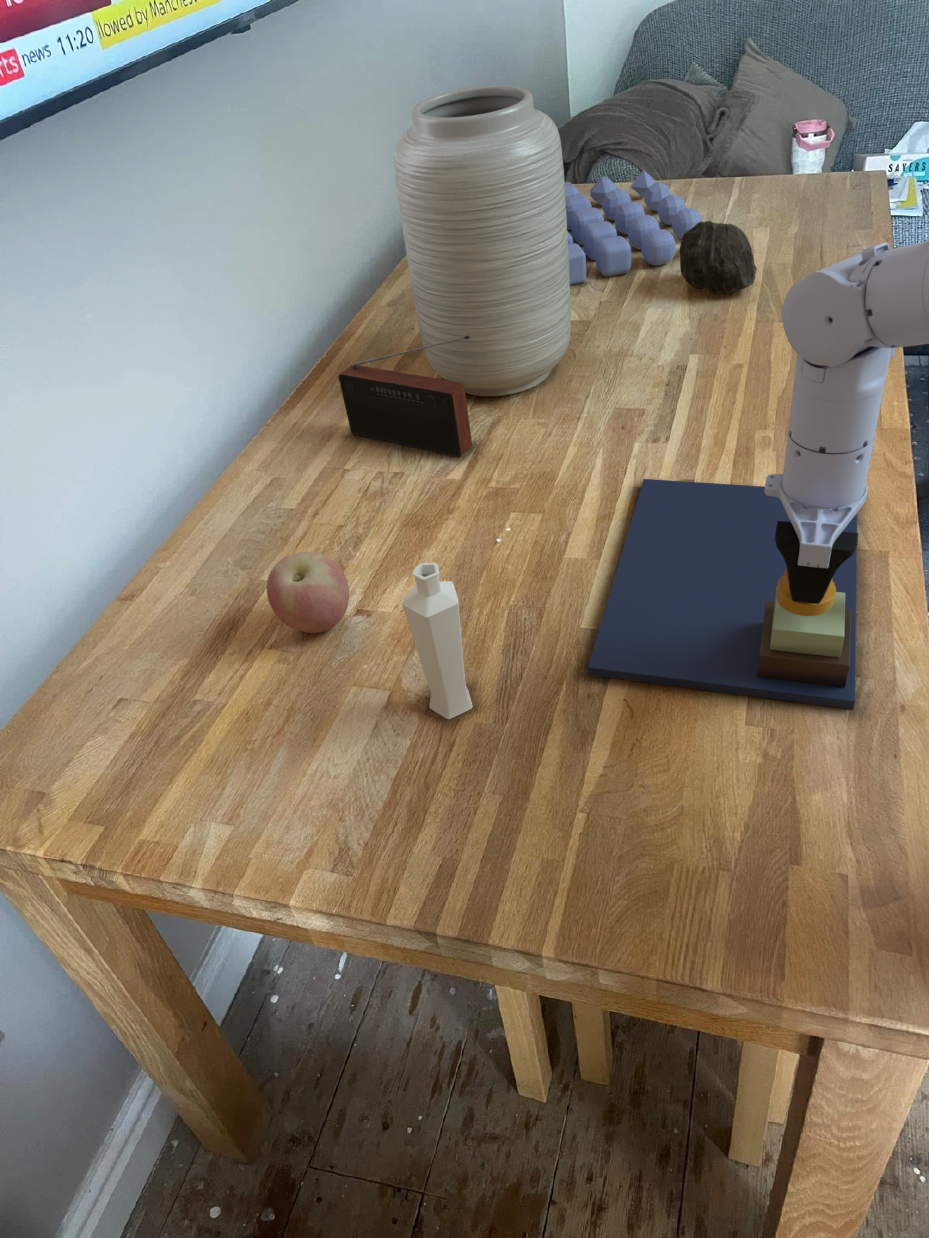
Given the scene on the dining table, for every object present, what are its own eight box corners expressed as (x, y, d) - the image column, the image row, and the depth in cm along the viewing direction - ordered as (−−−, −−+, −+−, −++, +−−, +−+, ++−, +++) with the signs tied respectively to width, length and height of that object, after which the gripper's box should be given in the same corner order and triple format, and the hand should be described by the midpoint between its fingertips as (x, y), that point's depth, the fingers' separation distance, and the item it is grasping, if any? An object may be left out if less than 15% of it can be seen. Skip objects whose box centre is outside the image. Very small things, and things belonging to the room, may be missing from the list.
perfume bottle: (464, 727, 81) (440, 594, 71) (420, 715, 82) (390, 583, 73) (486, 690, 84) (466, 558, 74) (442, 679, 85) (417, 548, 76)
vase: (568, 406, 119) (552, 118, 97) (414, 411, 123) (365, 135, 101) (578, 335, 134) (567, 70, 112) (440, 341, 138) (403, 87, 116)
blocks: (471, 226, 173) (467, 198, 170) (652, 192, 175) (652, 163, 172) (511, 298, 147) (508, 267, 143) (723, 257, 148) (725, 225, 145)
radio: (349, 436, 121) (324, 325, 111) (363, 424, 122) (339, 314, 113) (474, 462, 112) (458, 345, 102) (486, 449, 114) (472, 333, 104)
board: (853, 709, 77) (855, 701, 76) (588, 675, 84) (587, 667, 83) (856, 500, 98) (857, 492, 97) (643, 486, 104) (643, 478, 104)
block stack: (845, 688, 77) (854, 643, 74) (757, 677, 80) (761, 633, 76) (846, 631, 82) (855, 587, 79) (763, 622, 84) (768, 579, 81)
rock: (750, 299, 134) (747, 225, 129) (672, 305, 139) (666, 235, 134) (764, 278, 141) (761, 207, 136) (689, 284, 146) (684, 217, 141)
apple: (263, 635, 93) (241, 572, 88) (314, 591, 97) (295, 528, 92) (323, 661, 89) (303, 597, 84) (372, 613, 94) (356, 549, 88)
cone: (846, 602, 74) (857, 546, 71) (801, 623, 73) (810, 567, 70) (807, 574, 77) (816, 518, 74) (764, 593, 76) (770, 538, 73)
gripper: (780, 379, 72) (765, 523, 81) (760, 485, 62) (744, 636, 71) (880, 384, 69) (853, 532, 78) (875, 495, 59) (844, 649, 68)
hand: (808, 582), depth 74 cm, fingers closed on cone, 3 cm apart
